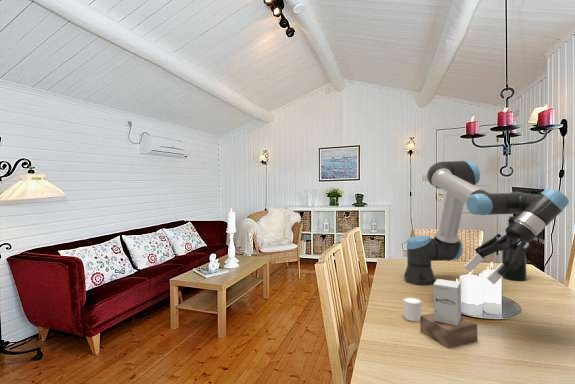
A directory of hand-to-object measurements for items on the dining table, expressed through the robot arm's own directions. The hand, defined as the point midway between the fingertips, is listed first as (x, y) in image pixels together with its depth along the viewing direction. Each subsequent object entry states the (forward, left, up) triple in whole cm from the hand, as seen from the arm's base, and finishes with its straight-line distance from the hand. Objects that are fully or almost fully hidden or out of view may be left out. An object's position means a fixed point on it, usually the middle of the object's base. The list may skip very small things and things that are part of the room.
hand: (477, 274), depth 103 cm
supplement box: (-6, -8, -15) cm, 18 cm away
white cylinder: (-22, -4, -21) cm, 30 cm away
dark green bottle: (-17, +81, -21) cm, 86 cm away
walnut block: (-6, -8, -21) cm, 23 cm away
